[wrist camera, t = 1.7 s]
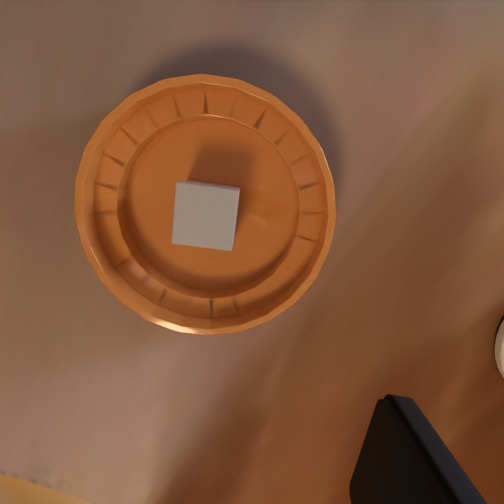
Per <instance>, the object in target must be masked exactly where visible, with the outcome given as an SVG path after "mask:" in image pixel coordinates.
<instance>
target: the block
mask: <svg viewBox="0 0 504 504" xmlns="http://www.w3.org/2000/svg"><path fill="white" fill-rule="evenodd" d="M240 190H241V187H240V186H233V185H225V184H218V183H210V182H203V181H195V180H184V181H180V182H176V189H175V202H174V215H173V228H172V241H171V243H172V244H178V245H186V246H194V247H202V248H210V249H217V250H225V251H232V248H233V243H234V239H235V231H236V223H237V215H238V207H239V199H240Z"/></svg>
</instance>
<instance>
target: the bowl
mask: <svg viewBox="0 0 504 504" xmlns="http://www.w3.org/2000/svg"><path fill="white" fill-rule="evenodd" d="M184 180H195V181H203V182H210V183H218V184H225V185H233V186H240V187H241V190H240V199H239V207H238V215H237V223H236V231H235V239H234V243H233V248H232V251H225V250H217V249H210V248H202V247H194V246H186V245H178V244H172V243H171V241H172V228H173V215H174V202H175V189H176V182H180V181H184ZM75 220H76V224H77V227H78V231H79V235H80V239H81V243H82V247H83V249H84V252H85V254H86V256H87V257H88V259H89V261H90V263H91V265H92V267H93V268H94V270H95V272H96V274H97V276H98V278H100V280H101V281H102V283H103V284H104V285H105V286H106V287H107V288H108V289H109V290H110V291H111V292H112V293H113V294H114V296H115V297H116V298H117V299H118V300H119V301H120V302H121V303H122V304H124V305H125V306H127V307H128V308H130V309H131V310H133V311H134V312H136V313H137V314H139V315H140V316H142V317H143V318H145V319H146V320H148V321H149V322H152V323H155V324H158V325H160V326H163V327H166V328H168V329H171V330H174V331H177V332H182V333H191V334H199V335H208V336H209V335H210V336H211V335H219V334H228V333H236V332H240V331H244V330H247V329H249V328H252V327H255V326H257V325H260V324H262V323H265V322H268V321H269V320H271V319H273V318H274V317H276V316H277V315H279V314H280V313H281V312H283V311H284V310H286V309H287V308H288V307H290V306H291V305H293V304H294V303H295V302H296V301H297V300H298V299H299V298H300V297H301V296H302V294H303V293H304V292H305V291H306V290H307V289H308V287H309V286H310V285H311V284H312V283H313V282H314V280H315V279H316V277H317V275H318V273H319V271H320V269H321V267H322V265H323V263H324V261H325V259H326V257H327V254H328V252H329V250H330V247H331V242H332V236H333V231H334V226H335V221H336V204H335V190H334V181H333V178H332V175H331V172H330V170H329V167H328V164H327V161H326V158H325V155H324V152H323V150H322V149H321V146H320V145H319V143H318V142H317V140H316V139H315V137H314V136H313V134H312V133H311V132H310V130H309V129H308V127H307V126H306V124H305V123H304V121H303V120H302V119H301V118H300V117H299V116H298V115H297V114H296V113H295V112H293V111H292V110H291V109H290V108H289V107H287V106H286V105H285V104H284V103H283V102H281V101H280V100H279V99H278V98H277V97H275V96H274V95H272V94H271V93H269V92H267V91H264V90H262V89H260V88H258V87H256V86H253V85H251V84H249V83H247V82H244V81H242V80H240V79H236V78H230V77H223V76H216V75H209V74H194V75H187V76H180V77H173V78H166V79H162V80H160V81H158V82H156V83H154V84H152V85H149V86H147V87H145V88H143V89H141V90H139V91H136V92H134V93H132V94H131V95H129V96H128V97H127V98H126V99H125V100H123V101H122V102H121V103H120V104H119V105H118V106H117V107H116V108H114V109H113V110H112V111H111V112H110V113H109V114H108V115H106V116H105V117H104V119H103V120H102V121H101V123H100V125H99V126H98V128H97V129H96V131H95V133H94V134H93V136H92V137H91V139H90V141H89V142H88V144H87V145H86V147H85V149H84V152H83V156H82V159H81V163H80V166H79V170H78V173H77V177H76V180H75Z"/></svg>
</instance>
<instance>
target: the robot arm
mask: <svg viewBox="0 0 504 504" xmlns="http://www.w3.org/2000/svg"><path fill="white" fill-rule="evenodd" d="M495 360H496V364H497V367H498V370H499V371H500V373H501V375H502V377H503V378H504V320H503V321H502V323H501V325H500V328H499V330H498V333H497V336H496V342H495ZM349 490H350V499H351V503H352V504H487V503H486V502H485V500H484V499H483V498H482V496H481V495H480V493H479V492H478V490H477V489H476V488H475V486H474V485H473V483H472V482H471V481H470V479H469V478H468V476H467V475H466V474H465V472H464V471H463V469H462V468H461V466H460V465H459V464H458V462H457V461H456V459H455V458H454V457H453V455H452V454H451V452H450V451H449V450H448V448H447V447H446V445H445V444H444V442H443V441H442V440H441V438H440V437H439V435H438V434H437V433H436V431H435V430H434V428H433V427H432V426H431V424H430V423H429V421H428V420H427V418H426V417H425V416H424V414H423V413H422V411H421V410H420V409H419V407H418V406H417V404H416V403H415V402H414V400H413V399H411V398H408V397H402V396H396V395H390V394H388V395H386V396H385V397H384V399H380V400H378V402H377V404H376V407H375V410H374V413H373V416H372V419H371V422H370V425H369V428H368V431H367V434H366V437H365V440H364V443H363V446H362V449H361V452H360V455H359V458H358V461H357V464H356V467H355V470H354V473H353V476H352V479H351V482H350V489H349Z"/></svg>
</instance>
